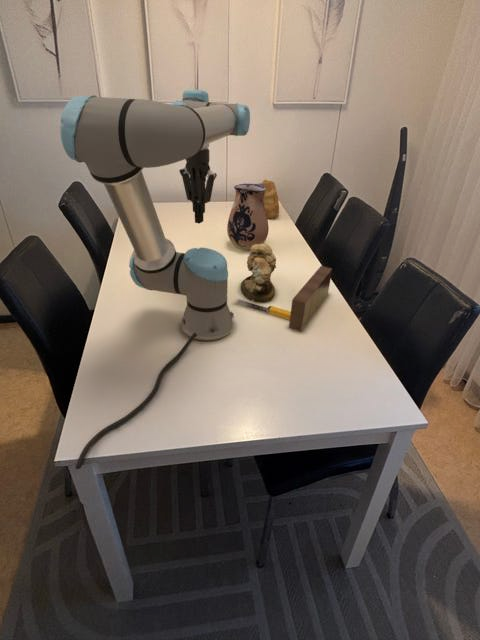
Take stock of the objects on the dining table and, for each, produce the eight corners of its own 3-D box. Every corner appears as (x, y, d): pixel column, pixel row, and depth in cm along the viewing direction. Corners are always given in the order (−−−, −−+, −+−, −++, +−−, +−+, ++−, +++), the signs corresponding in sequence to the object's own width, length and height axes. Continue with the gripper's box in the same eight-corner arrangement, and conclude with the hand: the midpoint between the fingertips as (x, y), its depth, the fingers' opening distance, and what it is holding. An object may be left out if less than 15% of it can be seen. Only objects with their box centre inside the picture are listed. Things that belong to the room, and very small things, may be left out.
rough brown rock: (245, 207, 216) (243, 179, 207) (274, 204, 216) (274, 177, 208) (247, 223, 197) (246, 193, 189) (280, 220, 198) (280, 191, 189)
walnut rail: (301, 331, 117) (305, 303, 111) (288, 327, 118) (292, 299, 113) (327, 294, 136) (332, 268, 130) (316, 291, 137) (321, 265, 132)
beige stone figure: (236, 278, 143) (237, 234, 134) (267, 277, 145) (270, 233, 136) (245, 304, 129) (248, 256, 119) (280, 301, 131) (285, 254, 121)
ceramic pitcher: (220, 250, 164) (220, 190, 150) (238, 233, 181) (239, 177, 167) (260, 257, 159) (264, 196, 146) (274, 239, 176) (279, 182, 162)
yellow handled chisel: (295, 317, 123) (295, 312, 122) (291, 321, 121) (292, 316, 120) (239, 300, 131) (239, 295, 130) (235, 304, 129) (235, 299, 128)
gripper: (221, 148, 121) (221, 222, 134) (186, 143, 126) (189, 215, 139) (208, 152, 115) (209, 229, 128) (172, 147, 120) (176, 221, 133)
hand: (199, 221), depth 134 cm, fingers closed
